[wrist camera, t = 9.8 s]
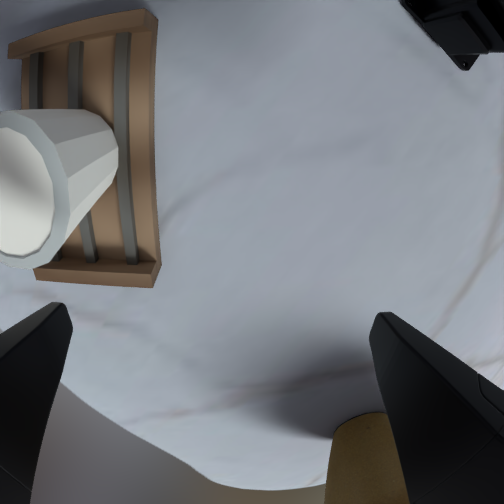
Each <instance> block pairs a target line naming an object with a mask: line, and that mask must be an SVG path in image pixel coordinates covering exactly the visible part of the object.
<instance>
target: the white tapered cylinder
mask: <svg viewBox="0 0 504 504" xmlns="http://www.w3.org/2000/svg"><path fill="white" fill-rule="evenodd" d="M117 168H118V145H117V142H116V139H115V137H114V134H113V131H112V129H111V128H110V127H109V125H108V124H107V123H106V122H105V121H104V120H103V119H102V118H101V117H100V116H99V115H97V114H94V113H92V112H89V111H87V110H85V109H29V110H9V111H4V112H0V262H2V263H4V264H5V265H7V266H9V267H14V268H20V269H27V270H31V269H33V268H36V267H39V266H41V265H44V264H46V263H49V262H50V261H51V259H52V258H53V257H54V255H55V254H56V253H57V251H58V250H59V249H60V248H61V246H62V245H63V244H64V242H65V241H66V240H67V238H68V237H69V236H70V234H71V233H72V232H73V230H74V229H75V228H76V226H77V225H78V224H79V222H80V221H81V220H82V219H83V217H84V216H85V215H86V214H87V212H88V211H89V210H90V209H91V207H92V206H93V205H94V204H95V202H96V201H97V200H98V199H99V198H100V196H101V195H102V194H103V193H104V192H105V191H106V189H107V188H108V187H109V186H110V185H111V184H112V181H113V179H114V176H115V173H116V171H117Z"/></svg>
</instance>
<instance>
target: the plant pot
mask: <svg viewBox="0 0 504 504" xmlns="http://www.w3.org/2000/svg"><path fill="white" fill-rule="evenodd" d="M324 504H410V503H409V498H408V494H407V489H406V485H405V481H404V476H403V472H402V468H401V464H400V460H399V456H398V452H397V449H396V445H395V441H394V437H393V434H392V430H391V426H390V423H389V419H388V416H387V415H386V414H385V413H379V412H377V413H368V414H364V415H361V416H358V417H356V418H353V419H351V420H349V421H347V422H345V423H344V424H342V425H341V426H340V427H339V428H338V429H337V430H336V431H335V433H334V436H333V441H332V446H331V452H330V458H329V464H328V472H327V480H326V489H325V502H324Z"/></svg>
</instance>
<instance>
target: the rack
mask: <svg viewBox="0 0 504 504" xmlns="http://www.w3.org/2000/svg"><path fill="white" fill-rule="evenodd" d="M157 29H158V19H157V18H156V17H155V16H153V15H152V14H151V13H150V12H149V11H148V10H146V9H145V8H143V9H136V10H129V11H123V12H118V13H112V14H107V15H102V16H97V17H93V18H89V19H84V20H80V21H76V22H73V23H69V24H65V25H62V26H58V27H55V28H52V29H49V30H45V31H42V32H39V33H36V34H34V35H31V36H28V37H25V38H23V39H20V40H17V41H15V42H12V43H10V44H9V46H8V59H22V77H21V107H22V110H29V109H85V110H87V111H89V112H92V113H94V114H97V115H99V116H100V117H101V118H102V119H103V120H104V121H105V122H106V123H107V124H108V125H109V127H110V128H111V129H112V131H113V134H114V137H115V139H116V142H117V145H118V168H117V171H116V173H115V176H114V179H113V181H112V184H111V185H110V186H109V187H108V188H107V189H106V191H105V192H104V193H103V194H102V195H101V196H100V198H99V199H98V200H97V201H96V202H95V204H94V205H93V206H92V207H91V209H90V210H89V211H88V212H87V214H86V215H85V216H84V217H83V219H82V220H81V221H80V222H79V224H78V225H77V226H76V228H75V229H74V230H73V232H72V233H71V234H70V236H69V237H68V238H67V240H66V241H65V242H64V244H63V245H62V246H61V248H60V249H59V250H58V251H57V253H56V254H55V255H54V257H53V258H52V259H51V261H50V262H49V263H46V264H44V265H41V266H39V267H36V268H33V271H34V274H35V277H36V280H41V281H53V282H65V283H78V284H92V285H107V286H123V287H140V288H153V286H154V283H155V281H156V278H157V276H158V273H159V271H160V268H161V266H162V263H161V252H160V241H159V229H158V215H157V199H156V179H155V148H154V92H155V62H156V43H157Z"/></svg>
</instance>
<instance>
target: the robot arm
mask: <svg viewBox="0 0 504 504" xmlns="http://www.w3.org/2000/svg"><path fill="white" fill-rule="evenodd" d="M408 1H410V2H411V4H412V6H411V5H409V3H408ZM402 4H403V6H404V7H405V8H406V9H407V10H408V11H409V12H410V13H411V14H412V15H413V16H414V17H415V18H416V19H417V20H418V21H419V22H420V23H421V24H422V25H423V27H424V29H425V30H426V31H427V32H428V33H429V34H430V35H431V36H432V37H433V39H434V40H435V41H436V42H437V43H438V44H439V45H440V47H441V48H442V49H443V50H444V51H445V52H446V54H448V55H449V56H450V57H451V58H452V60H453V61H454V62H455V63H456V65H457V66H458V67H459V68H460V69H461V70H463V71H468V70H469V69H470V68H471V67H472V65H473V64H474V62H475V61H476V60H477V58H478V57H479V55H480V54H488V53H504V0H402ZM463 61H464V63H465V66H464V65H463ZM72 332H73V326H72V322H71V319H70V316H69V314H68V311H67V308H66V306H65V304H63V303H59V302H51V303H50V304H48V305H46V306H45V307H43V308H41V309H40V310H38V311H36V312H35V313H33V314H31V315H30V316H28V317H27V318H25V319H23V320H22V321H20V322H19V323H17V324H15V325H14V326H12V327H11V328H9V329H7V330H6V331H4V332H3V333H1V334H0V504H30V499H31V493H32V492H31V491H32V486H33V481H34V476H35V471H36V466H37V462H38V457H39V453H40V449H41V444H42V440H43V436H44V433H45V429H46V425H47V421H48V418H49V414H50V411H51V408H52V404H53V401H54V398H55V395H56V391H57V388H58V385H59V382H60V379H61V376H62V372H63V368H64V364H65V360H66V356H67V352H68V348H69V344H70V340H71V336H72ZM369 342H370V347H371V351H372V356H373V361H374V366H375V371H376V376H377V381H378V385H379V389H380V392H381V396H382V399H383V402H384V406H385V409H386V412H387V416H388V419H389V423H390V426H391V430H392V434H393V437H394V441H395V445H396V449H397V452H398V456H399V460H400V464H401V468H402V472H403V476H404V481H405V485H406V489H407V494H408V498H409V503H410V504H504V390H502V389H500V388H499V387H497V386H496V385H495V384H493V383H492V382H490V381H489V380H487V379H486V378H485V377H483V376H482V375H481V374H478V373H477V372H476V371H475V370H474V369H472V368H471V367H469V366H468V365H467V364H465V363H464V362H462V361H461V360H460V359H458V358H457V357H455V356H454V355H453V354H451V353H450V352H448V351H447V350H446V349H444V348H443V347H441V346H440V345H438V344H437V343H436V342H434V341H433V340H431V339H430V338H428V337H427V336H426V335H424V334H423V333H421V332H420V331H418V330H417V329H415V328H414V327H413V326H411V325H410V324H408V323H407V322H405V321H404V320H402V319H401V318H399V317H398V316H397V315H395V314H394V313H392V312H379V313H378V314H377V315H376V317H375V320H374V323H373V326H372V329H371V331H370V335H369Z"/></svg>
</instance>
